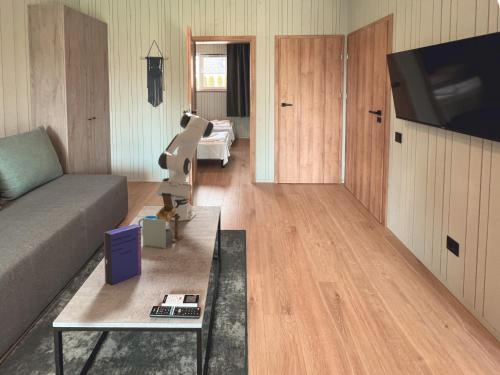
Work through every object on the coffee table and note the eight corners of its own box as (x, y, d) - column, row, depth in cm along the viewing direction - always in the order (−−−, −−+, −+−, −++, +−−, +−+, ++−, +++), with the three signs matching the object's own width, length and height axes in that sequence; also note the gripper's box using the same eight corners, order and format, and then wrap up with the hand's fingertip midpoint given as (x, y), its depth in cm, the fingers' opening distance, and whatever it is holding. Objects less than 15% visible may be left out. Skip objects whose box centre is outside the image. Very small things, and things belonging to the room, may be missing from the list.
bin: (153, 240, 286) (152, 213, 283) (174, 243, 282) (174, 216, 279) (143, 245, 276) (142, 218, 272) (165, 248, 271) (165, 221, 268)
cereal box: (134, 271, 238) (133, 223, 233) (141, 274, 235) (140, 225, 230) (105, 282, 224) (103, 231, 219) (112, 285, 221) (110, 234, 216)
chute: (164, 212, 291) (160, 191, 283) (177, 214, 288) (173, 192, 281) (156, 222, 283) (152, 200, 275) (170, 223, 280) (165, 202, 273)
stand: (161, 235, 296) (161, 209, 293) (183, 238, 292) (183, 211, 288) (153, 239, 287) (153, 213, 283) (175, 242, 282) (175, 215, 279)
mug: (159, 228, 309) (158, 216, 307) (155, 232, 301) (155, 219, 299) (140, 227, 310) (140, 215, 308) (136, 231, 302) (136, 218, 300)
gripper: (194, 188, 292) (187, 207, 285) (163, 184, 298) (155, 203, 291) (191, 181, 287) (184, 201, 280) (160, 178, 293) (152, 198, 286)
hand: (169, 202), depth 285 cm, fingers closed, pressing on chute
